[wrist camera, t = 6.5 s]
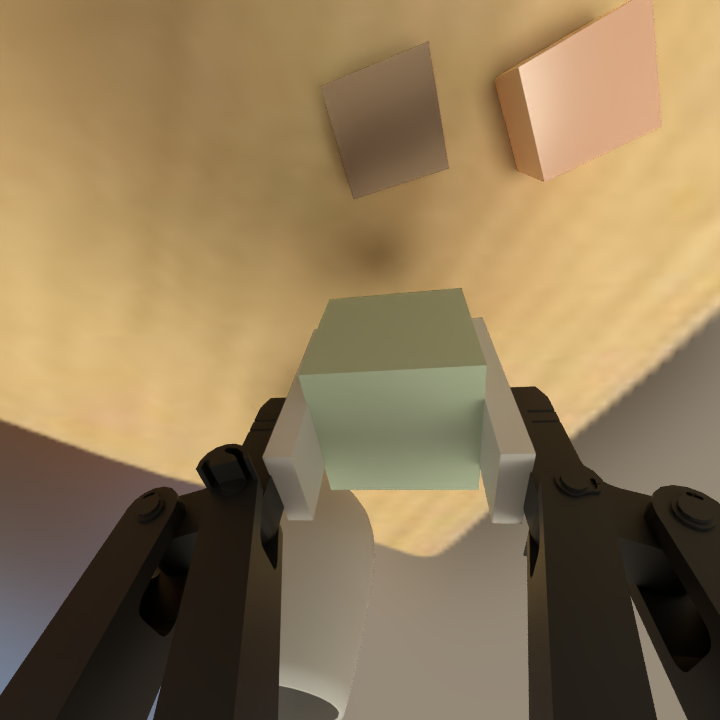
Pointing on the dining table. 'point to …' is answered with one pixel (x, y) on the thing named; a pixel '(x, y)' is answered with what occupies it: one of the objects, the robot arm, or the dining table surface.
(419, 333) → the sage cube
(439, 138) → the walnut cube
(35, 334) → the dining table surface
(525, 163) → the terracotta cube
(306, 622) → the wineglass
